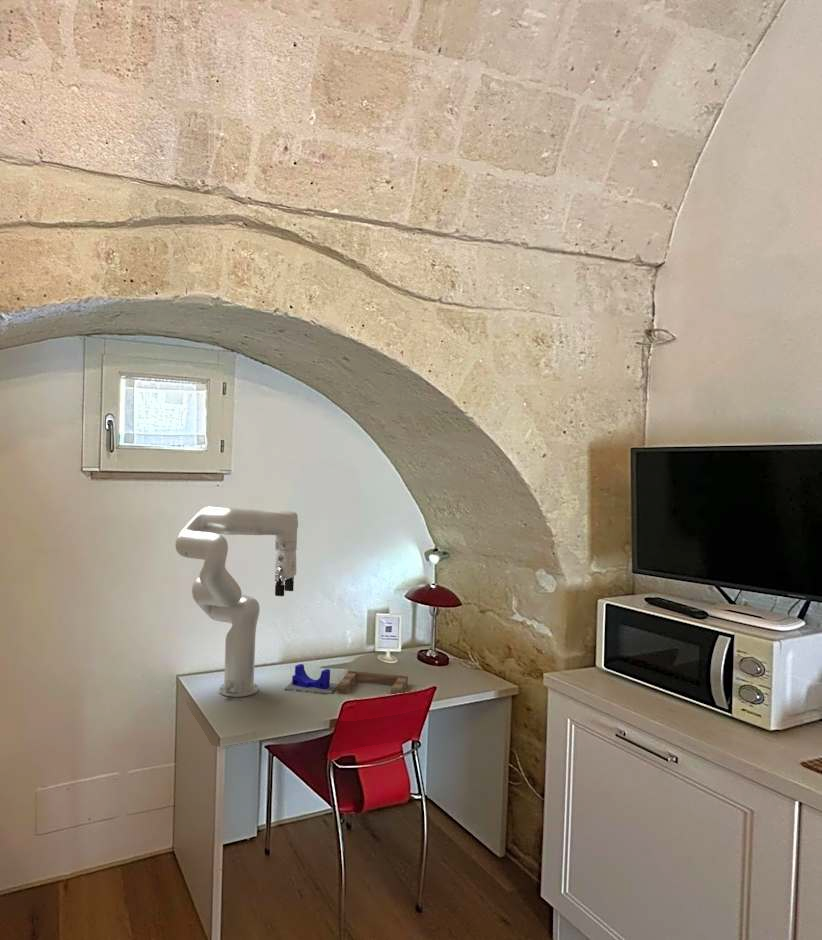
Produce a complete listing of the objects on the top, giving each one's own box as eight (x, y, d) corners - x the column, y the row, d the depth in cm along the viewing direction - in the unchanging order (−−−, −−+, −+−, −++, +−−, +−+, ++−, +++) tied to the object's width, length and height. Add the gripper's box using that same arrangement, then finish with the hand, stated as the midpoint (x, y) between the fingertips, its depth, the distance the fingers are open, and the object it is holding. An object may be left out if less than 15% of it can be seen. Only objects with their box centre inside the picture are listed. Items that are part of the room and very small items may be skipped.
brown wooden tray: (399, 699, 238) (399, 690, 238) (336, 693, 241) (337, 684, 241) (407, 684, 253) (407, 676, 253) (349, 679, 257) (349, 670, 256)
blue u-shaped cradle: (292, 684, 246) (292, 667, 246) (299, 681, 250) (300, 663, 250) (322, 691, 241) (323, 673, 241) (329, 687, 245) (330, 669, 245)
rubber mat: (330, 694, 240) (331, 693, 240) (284, 690, 242) (284, 688, 242) (339, 685, 249) (339, 683, 249) (294, 681, 252) (294, 679, 252)
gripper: (287, 549, 252) (286, 598, 252) (303, 543, 269) (302, 589, 270) (267, 548, 253) (265, 597, 254) (284, 542, 270) (282, 588, 271)
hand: (284, 593), depth 262 cm, fingers open, 9 cm apart
